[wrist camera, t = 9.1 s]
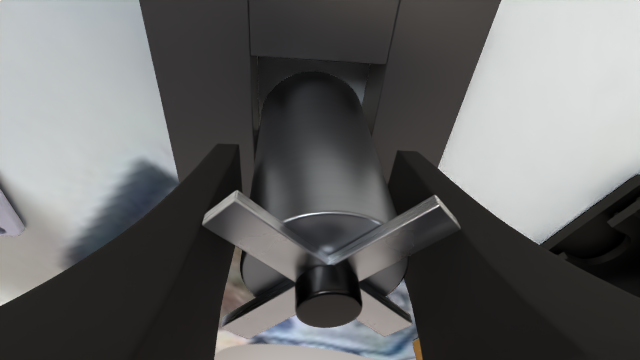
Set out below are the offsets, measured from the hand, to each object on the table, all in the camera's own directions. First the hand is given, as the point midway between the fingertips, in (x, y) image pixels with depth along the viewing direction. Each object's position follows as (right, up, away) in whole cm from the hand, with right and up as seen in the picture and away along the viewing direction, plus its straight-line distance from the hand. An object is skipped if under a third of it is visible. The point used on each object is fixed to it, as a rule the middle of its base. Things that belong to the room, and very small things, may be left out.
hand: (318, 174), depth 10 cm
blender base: (0, +4, +4) cm, 6 cm away
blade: (0, +2, +3) cm, 3 cm away
